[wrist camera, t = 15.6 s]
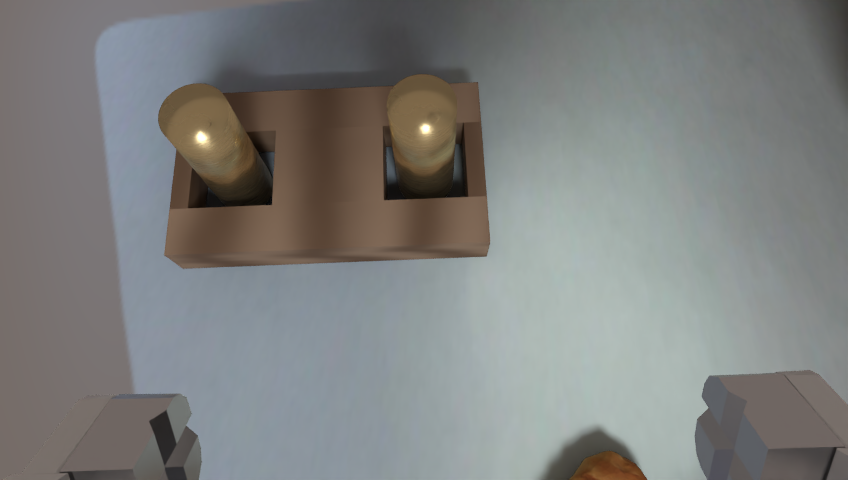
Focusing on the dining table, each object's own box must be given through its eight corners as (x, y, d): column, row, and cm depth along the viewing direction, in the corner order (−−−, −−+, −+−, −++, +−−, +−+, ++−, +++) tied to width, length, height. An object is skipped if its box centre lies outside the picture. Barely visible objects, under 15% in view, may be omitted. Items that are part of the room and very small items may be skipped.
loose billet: (451, 153, 44) (455, 72, 35) (454, 204, 43) (459, 133, 33) (397, 156, 44) (386, 75, 35) (398, 206, 43) (387, 136, 33)
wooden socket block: (475, 105, 45) (478, 82, 43) (486, 256, 41) (490, 241, 39) (198, 117, 46) (182, 94, 43) (182, 268, 42) (164, 254, 39)
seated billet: (275, 161, 44) (231, 82, 35) (272, 211, 43) (225, 143, 34) (220, 163, 44) (162, 84, 35) (216, 213, 43) (154, 146, 34)
